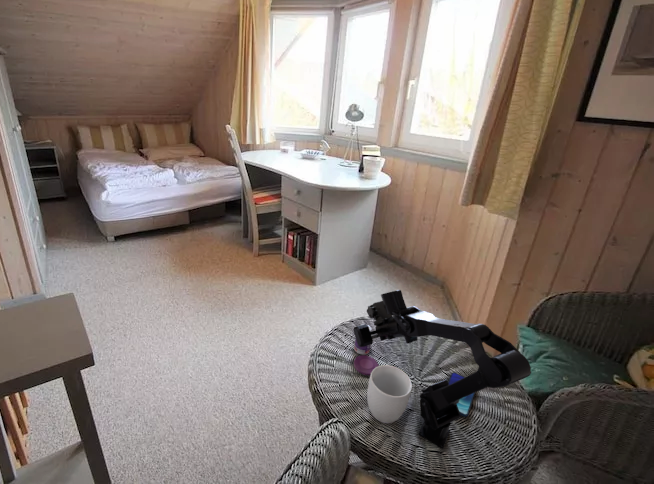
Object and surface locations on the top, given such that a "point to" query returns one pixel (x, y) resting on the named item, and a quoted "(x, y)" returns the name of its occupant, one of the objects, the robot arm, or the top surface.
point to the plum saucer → (365, 364)
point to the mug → (388, 393)
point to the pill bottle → (362, 350)
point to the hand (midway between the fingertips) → (368, 332)
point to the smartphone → (463, 402)
